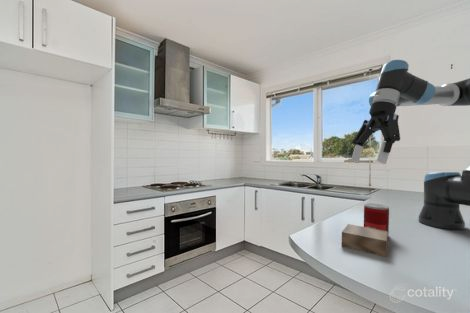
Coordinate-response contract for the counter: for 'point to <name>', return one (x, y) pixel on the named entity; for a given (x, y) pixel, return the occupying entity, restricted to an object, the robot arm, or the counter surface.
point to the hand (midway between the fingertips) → (366, 162)
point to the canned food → (376, 216)
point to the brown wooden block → (365, 239)
